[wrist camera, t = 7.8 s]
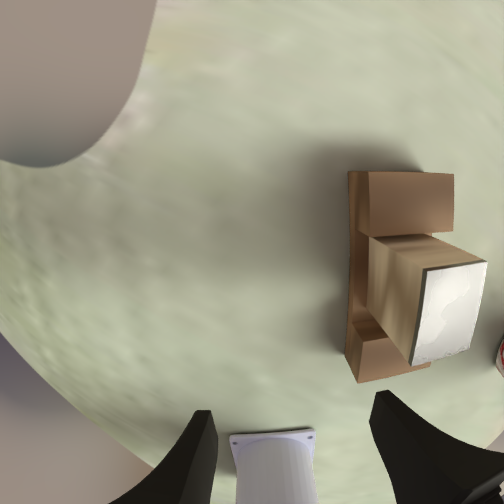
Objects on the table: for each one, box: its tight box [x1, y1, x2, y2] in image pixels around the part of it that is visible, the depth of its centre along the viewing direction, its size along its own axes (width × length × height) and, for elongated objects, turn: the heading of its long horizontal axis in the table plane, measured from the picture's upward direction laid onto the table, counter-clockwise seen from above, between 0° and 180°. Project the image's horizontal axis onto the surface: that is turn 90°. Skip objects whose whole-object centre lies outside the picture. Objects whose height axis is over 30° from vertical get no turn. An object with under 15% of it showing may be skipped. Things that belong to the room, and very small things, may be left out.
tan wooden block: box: [366, 233, 487, 367], centre depth 15 cm, size 5×4×7 cm
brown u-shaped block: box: [345, 171, 454, 384], centre depth 17 cm, size 14×6×4 cm, turn 5°
